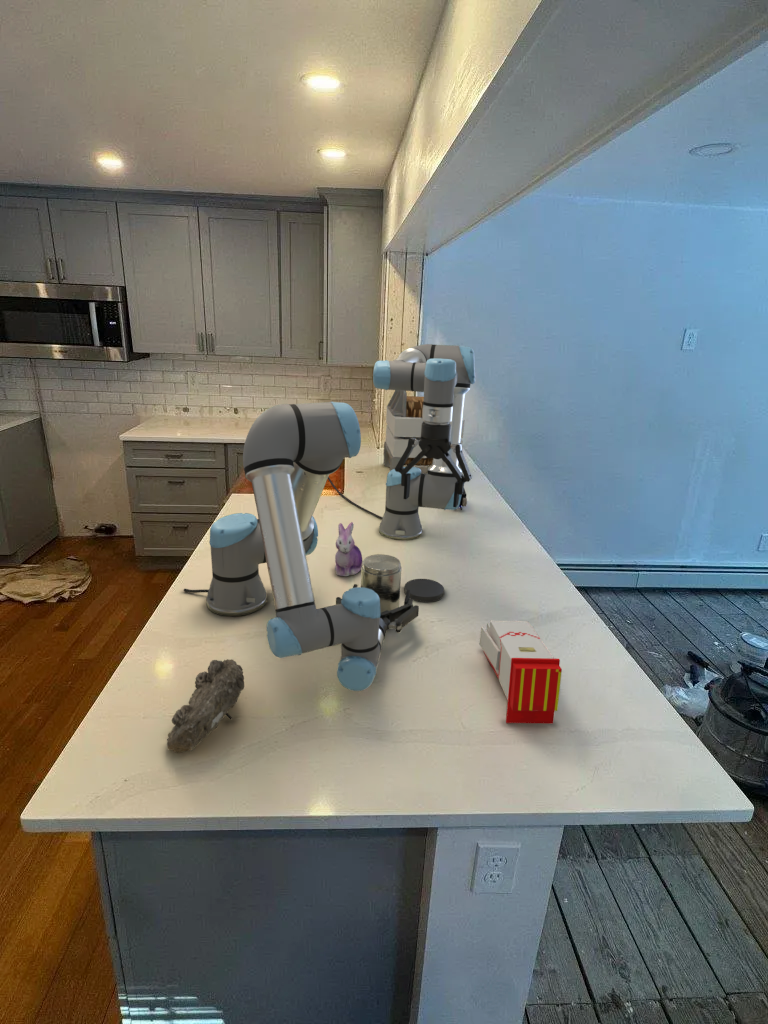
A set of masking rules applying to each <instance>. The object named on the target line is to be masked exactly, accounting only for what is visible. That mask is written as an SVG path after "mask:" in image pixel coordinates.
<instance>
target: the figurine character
mask: <svg viewBox="0 0 768 1024" xmlns="http://www.w3.org/2000/svg"><path fill="white" fill-rule="evenodd" d="M467 503H468V498H467V492H466V489H465V488H464V491H463V493H462V496H461V500H460V504H459V507H458V508H457V509H460V511H463V507H464V508H465V507H467Z"/></svg>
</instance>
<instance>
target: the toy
mask: <svg viewBox="0 0 768 1024" xmlns="http://www.w3.org/2000/svg"><path fill="white" fill-rule="evenodd" d="M478 642H479V643H478V644H479V646H480V647H481V650H482V651H483V654H484V655H485V657H486V659H487V661H488V663H489V664H490V666H491V669H492V670H493V672H494V674H495V676H496V678H497V679H498V682H499V684H500V687H501V688H502V691H503V693H504V695H505V697H506V699H507V706H506V717H505V722H506V724H547V725H549V724H551V725H553V724H554V718H555V712H558V711H559V710H558V709H559V698H560V689H561V682H562V681H561V680H562V672H563V671H562V667H561V666H560V663H561V659H560V658H554V656H553V654H552V653H551V651H550V650H549V649H548V647H547V646H546V644H545V643H544V642H543V640H542V638H540V636H539V635H538V633H537V631H536V630H535V627H534V626H532V625H531V623H530V622H529V620H528V621H527V620H526V621H525V620H524V621H523V620H490V621H489V622H487V623H486V628H485V626H480V634H479V641H478Z"/></svg>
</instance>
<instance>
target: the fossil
mask: <svg viewBox="0 0 768 1024" xmlns="http://www.w3.org/2000/svg"><path fill="white" fill-rule="evenodd" d="M243 670H244V669H243V667H242V665H240V664H237V662H236V661H235V660H234V659H232V658H231V659H227V658H226V659H224V660H223V661H222V660H217V659H212V660H211V661H210V663H209V665H208V666H207V671H201V672H199V673H198V674H197V675H196V676H195V680H194V684H195V685H194V687H195V689H194V690H193V693H192V694H191V697H190V698H189V700H188V704H184V705H182V706H181V707H180V709H177V710H176V711H175V713H174V715H173V716H172V718H171V723H172V724H173V727H172V730H171V731H170V732H168V734H167V738H166V741H167V742H166V745H167V749H168V750H169V751H173V752H174V753H176V754H178V753H182V752H188V751H189V752H192V751H193V750H195V748H196V747H197V746H199V744H200V743H201V742H203V741H204V740H205V739H206V738H207V737H208V736H209V735H210V734H211V733H212V732H214V730H215V729H217V727H218V726H219V724H220V722H221V721H222V720H223V719H224V718H225V716H226V717H227V719H229V720H233V717H232V715H230V714H229V710H230V709H231V708H234V706H235V704H236V703H237V702H238V699H239V697H240V695H241V693H242V691H243V690H245V689H244V688H245V675H244V671H243Z"/></svg>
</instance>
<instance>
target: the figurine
mask: <svg viewBox="0 0 768 1024" xmlns="http://www.w3.org/2000/svg"><path fill="white" fill-rule="evenodd" d="M354 525H355V523H354V522H353V521H351V522H349V524H348V525H347V526H346V528H345V527H344V525H343V523H342V522H339V523H338V529H337V530H338V536H337V538H336V541H335V548H336V549H337V551H336V553H335V554H334V555H335V557H334V563H335V566H334V571H335V574H336V575H337V576H341V577H349V576H353V575H356V574H358V573H359V572H361V566H362V563H363V555H362V551H361V550H360V548H359V546H357V545H356V544H355V540H354V538H353V536H352V534H353V531H354Z"/></svg>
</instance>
